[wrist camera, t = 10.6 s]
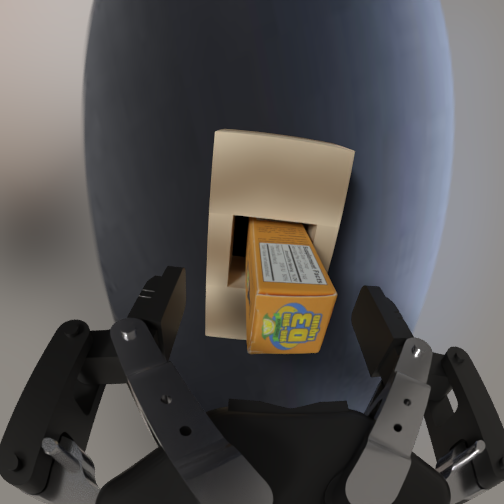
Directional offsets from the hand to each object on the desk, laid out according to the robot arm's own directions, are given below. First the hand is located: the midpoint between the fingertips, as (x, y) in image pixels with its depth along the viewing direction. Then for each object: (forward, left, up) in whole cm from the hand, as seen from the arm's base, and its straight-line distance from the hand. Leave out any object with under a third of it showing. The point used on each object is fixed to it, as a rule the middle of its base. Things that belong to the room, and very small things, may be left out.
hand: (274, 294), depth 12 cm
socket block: (0, 0, -8) cm, 8 cm away
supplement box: (0, 0, -8) cm, 8 cm away
